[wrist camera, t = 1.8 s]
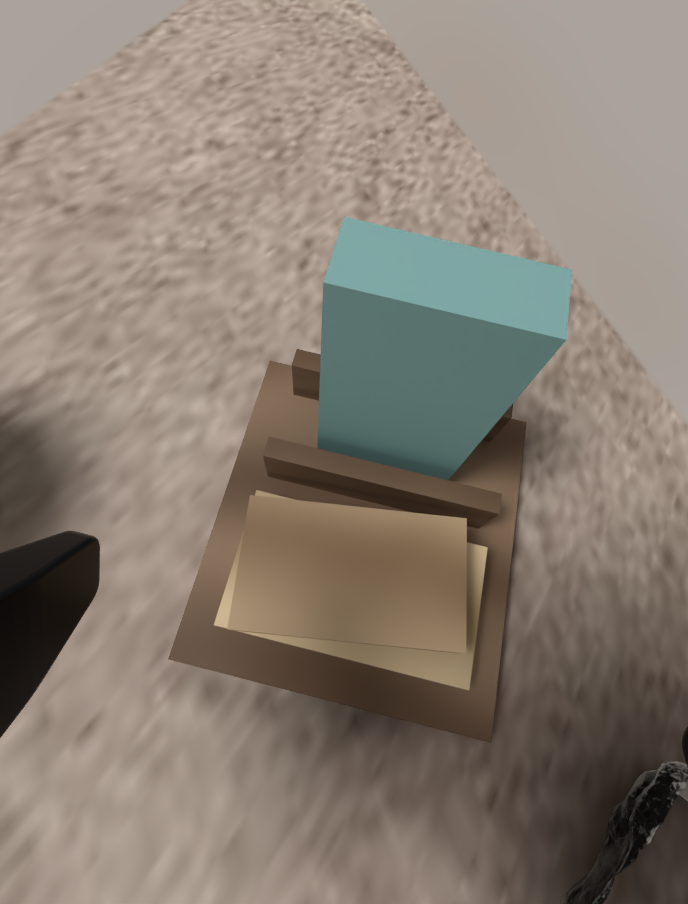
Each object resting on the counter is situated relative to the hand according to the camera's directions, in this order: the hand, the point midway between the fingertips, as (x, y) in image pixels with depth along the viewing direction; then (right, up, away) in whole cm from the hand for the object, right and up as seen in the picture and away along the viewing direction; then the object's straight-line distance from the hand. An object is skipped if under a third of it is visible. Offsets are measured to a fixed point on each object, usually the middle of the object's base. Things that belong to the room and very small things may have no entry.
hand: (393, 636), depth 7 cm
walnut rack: (0, -1, +14) cm, 14 cm away
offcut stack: (0, -3, +12) cm, 13 cm away
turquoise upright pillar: (+1, +3, +14) cm, 15 cm away
